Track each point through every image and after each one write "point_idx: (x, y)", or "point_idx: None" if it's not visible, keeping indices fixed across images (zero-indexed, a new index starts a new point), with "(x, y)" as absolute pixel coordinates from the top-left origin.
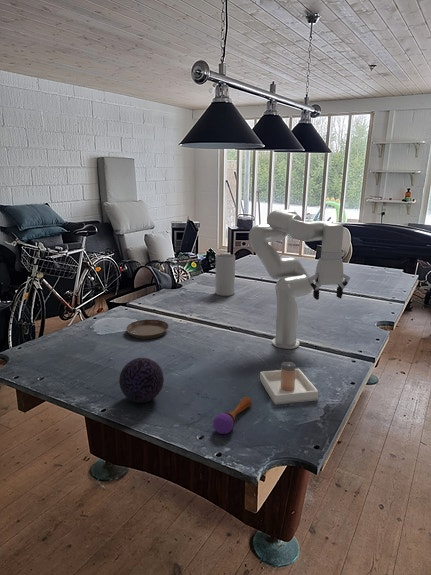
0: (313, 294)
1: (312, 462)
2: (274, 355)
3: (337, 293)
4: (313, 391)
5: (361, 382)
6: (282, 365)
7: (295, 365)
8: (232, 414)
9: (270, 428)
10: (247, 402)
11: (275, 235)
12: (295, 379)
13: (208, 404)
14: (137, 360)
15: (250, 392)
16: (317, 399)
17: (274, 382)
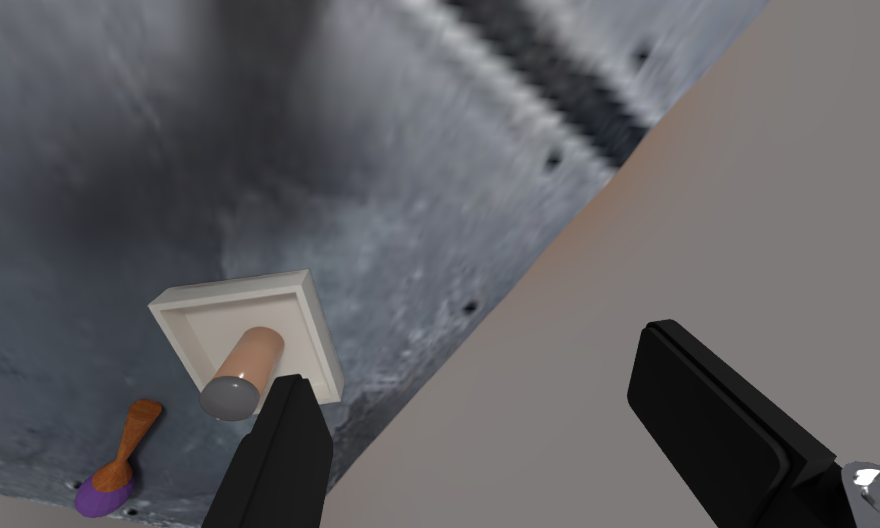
0: (237, 460)
1: None
2: (209, 66)
3: (675, 384)
4: (326, 402)
5: (498, 304)
6: (205, 406)
7: (255, 406)
8: (114, 485)
9: (223, 460)
10: (145, 428)
11: None
12: (292, 300)
13: (38, 399)
14: None
15: (149, 350)
16: (343, 382)
17: (219, 316)
